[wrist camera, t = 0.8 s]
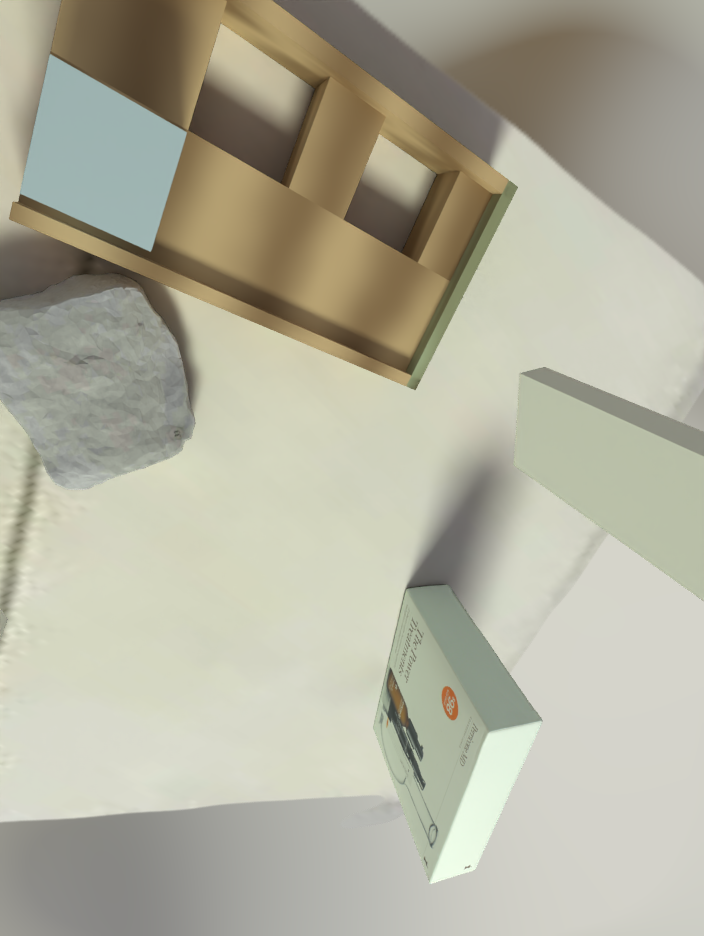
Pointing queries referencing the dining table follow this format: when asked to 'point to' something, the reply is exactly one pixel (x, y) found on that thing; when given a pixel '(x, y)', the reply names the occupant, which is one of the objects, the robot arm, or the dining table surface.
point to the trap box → (285, 188)
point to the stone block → (93, 379)
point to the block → (100, 156)
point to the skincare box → (450, 730)
